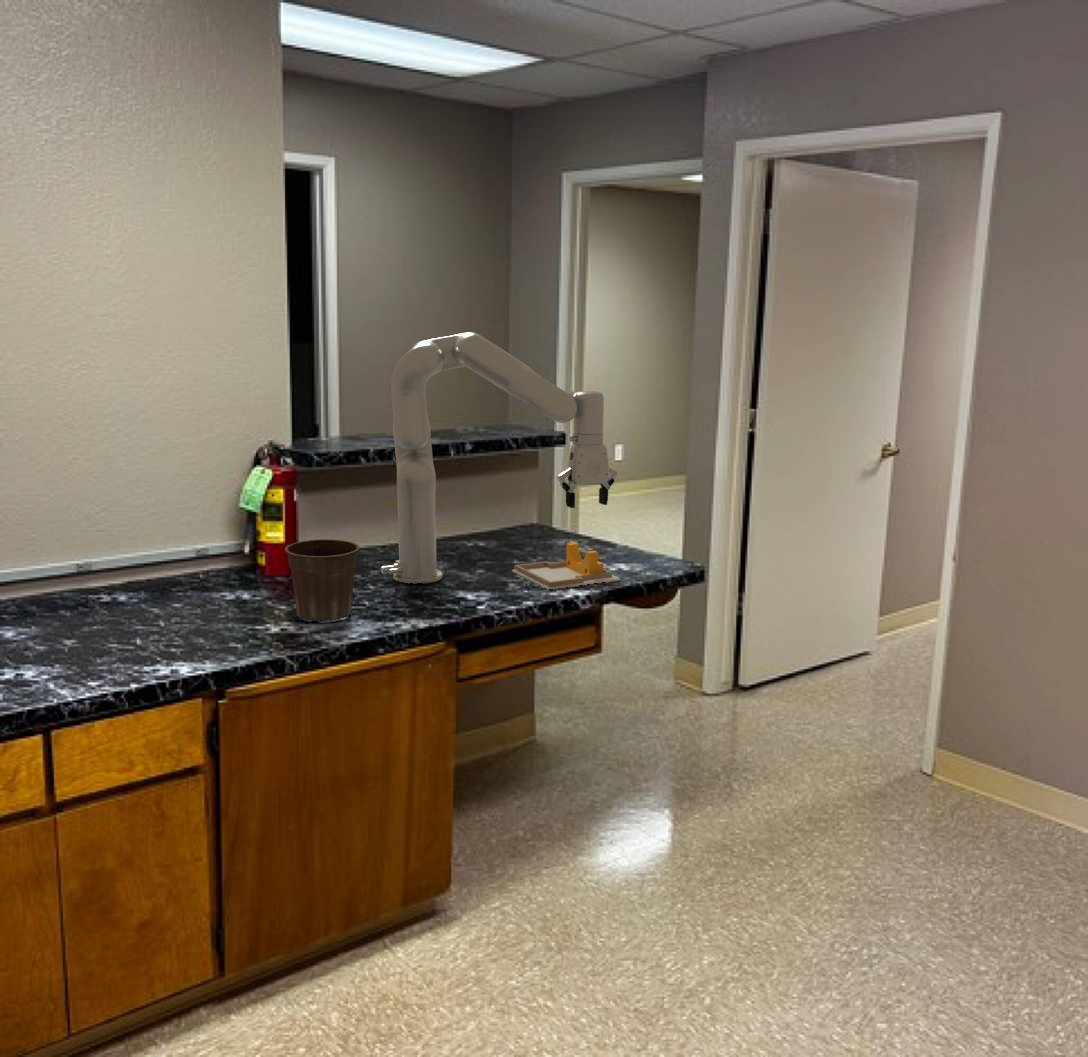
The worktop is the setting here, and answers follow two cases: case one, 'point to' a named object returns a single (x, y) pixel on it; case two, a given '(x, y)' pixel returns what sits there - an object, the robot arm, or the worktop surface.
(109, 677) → the worktop surface
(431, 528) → the robot arm
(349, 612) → the plant pot
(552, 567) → the shallow rimmed tray
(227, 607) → the worktop surface
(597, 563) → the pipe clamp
